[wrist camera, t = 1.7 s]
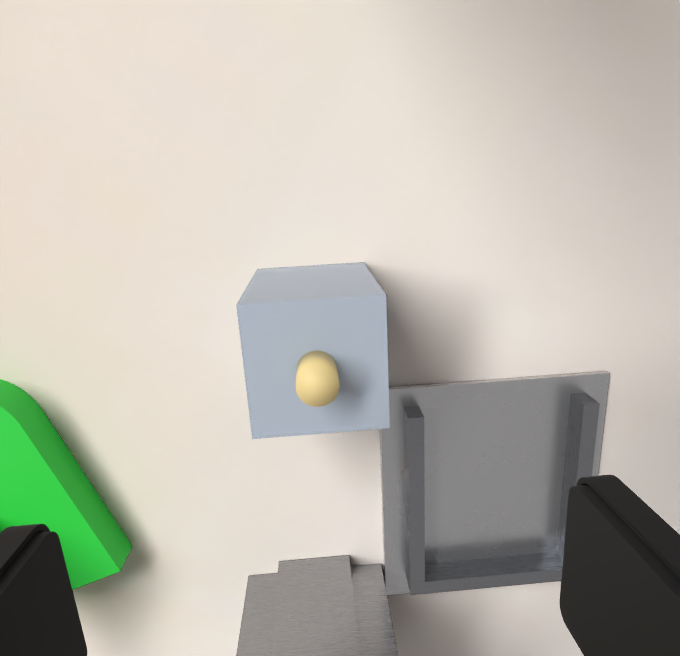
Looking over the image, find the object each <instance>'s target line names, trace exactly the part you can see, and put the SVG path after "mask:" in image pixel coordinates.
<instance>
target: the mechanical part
mask: <svg viewBox="0 0 680 656" xmlns="http://www.w3.org/2000/svg"><path fill="white" fill-rule="evenodd" d="M32 524H45V525H46V526H47V527H48V528H49V530H50V532H51V531H53V532H56V533H57V534H58V536H59V539H60V543H61V547H62V551H63V555H64V559H65V563H66V567H67V571H68V575H69V579H70V583H71V587H72V590H73V589H76V588H78V587H81V586H83V585H86V584H89V583H91V582H94V581H96V580H99V579H101V578H104V577H107V576H109V575H112V574H114V573H117V572H120V571H121V569H122V566H123V564H124V562H125V560H126V558H127V556H128V554H129V552H130V550H131V548H132V545H131V543H130V542H129V540H128V539H127V537H126V536H125V534H124V533H123V531H122V530H121V528H120V527H119V525H118V524H117V522H116V521H115V519H114V518H113V516H112V515H111V513H110V512H109V510H108V509H107V507H106V506H105V504H104V502H103V501H102V499H101V498H100V496H99V495H98V493H97V492H96V490H95V489H94V487H93V486H92V484H91V483H90V481H89V480H88V478H87V477H86V475H85V474H84V472H83V471H82V469H81V468H80V466H79V465H78V463H77V462H76V460H75V459H74V457H73V455H72V454H71V452H70V451H69V449H68V448H67V446H66V445H65V443H64V442H63V440H62V439H61V437H60V436H59V434H58V433H57V431H56V430H55V428H54V427H53V425H52V424H51V422H50V421H49V419H48V418H47V416H46V415H45V413H44V412H43V410H42V409H41V407H40V406H39V405H38V403H37V402H36V401H35V400H34V399H33V398H32V397H31V396H30V395H28V394H27V393H26V392H25V391H23V390H22V389H20V388H19V387H17V386H15V385H13V384H11V383H9V382H6V381H4V380H1V379H0V533H1V532H2V531H3V530H4V529H5V528H7V527H11V526H21V525H32Z"/></svg>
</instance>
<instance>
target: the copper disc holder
mask: <svg viewBox="0 0 680 656" xmlns="http://www.w3.org/2000/svg"><path fill="white" fill-rule="evenodd" d="M236 656H398V651H397V646H396V641H395V635H394V630H393V625H392V620H391V614H390V609H389V604H388V599H387V593H386V588H385V583H384V578H383V572H382V567H381V564H373V565H362V566H351V567H350V558H349V555H345V556H334V557H323V558H312V559H301V560H290V561H279V567H278V573H274V574H263V575H252V576H248V582H247V589H246V596H245V602H244V609H243V615H242V622H241V628H240V635H239V641H238V648H237V655H236Z"/></svg>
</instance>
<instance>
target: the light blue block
mask: <svg viewBox="0 0 680 656" xmlns="http://www.w3.org/2000/svg"><path fill="white" fill-rule="evenodd" d="M237 314H238V322H239V330H240V339H241V347H242V356H243V364H244V372H245V381H246V389H247V398H248V406H249V414H250V423H251V431H252V439H258V438H271V437H284V436H296V435H309V434H321V433H334V432H347V431H359V430H372V429H385V428H390V419H389V381H388V344H387V306H386V294H385V292H384V291H383V289H382V288H381V287H380V285H379V284H378V282H377V281H376V279H375V278H374V276H373V275H372V274H371V272H370V271H369V269H368V268H367V266H366V265H365V264H364V262H358V263H343V264H327V265H311V266H296V267H280V268H264V269H257V271H256V272H255V274H254V276H253V277H252V279H251V281H250V283H249V284H248V286H247V288H246V289H245V291H244V293H243V294H242V296H241V298H240V300H239V301H238V303H237Z"/></svg>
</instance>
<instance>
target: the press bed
mask: <svg viewBox="0 0 680 656" xmlns="http://www.w3.org/2000/svg"><path fill="white" fill-rule="evenodd" d="M609 377H610V373H609V372H607V371H599V372H586V373H573V374H559V375H546V376H533V377H519V378H506V379H493V380H480V381H466V382H453V383H440V384H426V385H413V386H400V387H389V419H390V428H385V429H380V449H381V479H382V509H383V539H384V569H385V588H386V593H387V595H394V594H404V593H410V594H411V595H416V594H427V593H437V592H448V591H459V590H469V589H480V588H490V587H501V586H512V585H522V584H533V583H543V582H554V581H561V580H562V568H563V556H564V544H565V531H566V519H567V507H568V495H569V490H570V488H571V487H573V486H576V485H577V482H578V480H579V479H580V478H582V477H590V476H598V473H599V464H600V455H601V447H602V438H603V429H604V421H605V412H606V403H607V395H608V386H609Z"/></svg>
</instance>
